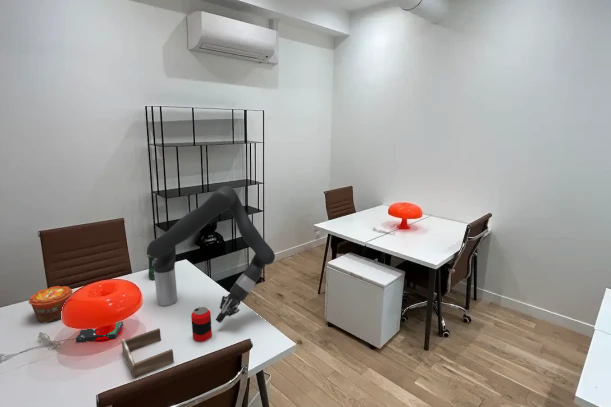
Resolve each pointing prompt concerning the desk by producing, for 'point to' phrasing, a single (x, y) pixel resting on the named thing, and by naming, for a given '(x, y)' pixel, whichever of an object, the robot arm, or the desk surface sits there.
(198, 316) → the soda can
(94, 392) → the desk surface
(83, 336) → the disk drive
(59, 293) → the food container
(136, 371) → the frame
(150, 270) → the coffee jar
